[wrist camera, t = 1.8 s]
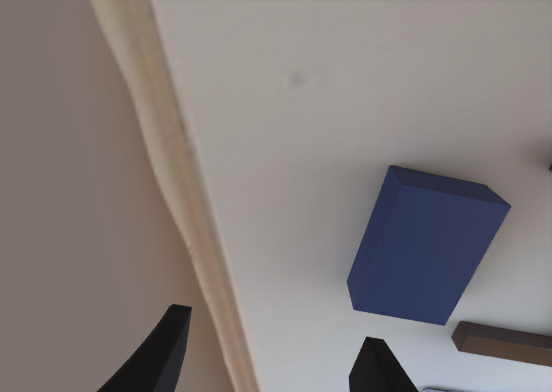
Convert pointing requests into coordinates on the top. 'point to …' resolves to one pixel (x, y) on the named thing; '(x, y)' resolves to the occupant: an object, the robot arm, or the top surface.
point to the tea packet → (423, 245)
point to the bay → (503, 343)
